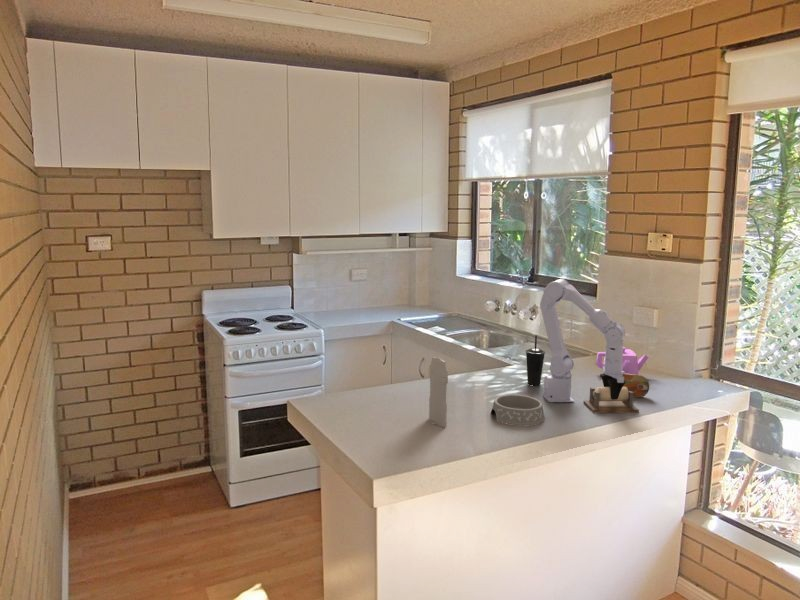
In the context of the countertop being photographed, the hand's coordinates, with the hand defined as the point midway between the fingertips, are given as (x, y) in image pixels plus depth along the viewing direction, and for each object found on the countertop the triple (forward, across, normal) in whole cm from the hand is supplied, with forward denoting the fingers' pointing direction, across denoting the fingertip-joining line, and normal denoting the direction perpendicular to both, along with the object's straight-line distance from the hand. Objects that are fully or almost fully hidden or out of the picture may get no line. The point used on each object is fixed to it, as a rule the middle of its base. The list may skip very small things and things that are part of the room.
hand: (611, 396), depth 217 cm
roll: (+2, 0, 0) cm, 2 cm away
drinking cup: (+4, +28, +20) cm, 35 cm away
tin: (+4, +14, -12) cm, 19 cm away
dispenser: (+4, -13, +63) cm, 64 cm away
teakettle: (+4, +39, -20) cm, 44 cm away
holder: (+4, 0, 0) cm, 4 cm away
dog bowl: (+5, -7, +35) cm, 36 cm away
